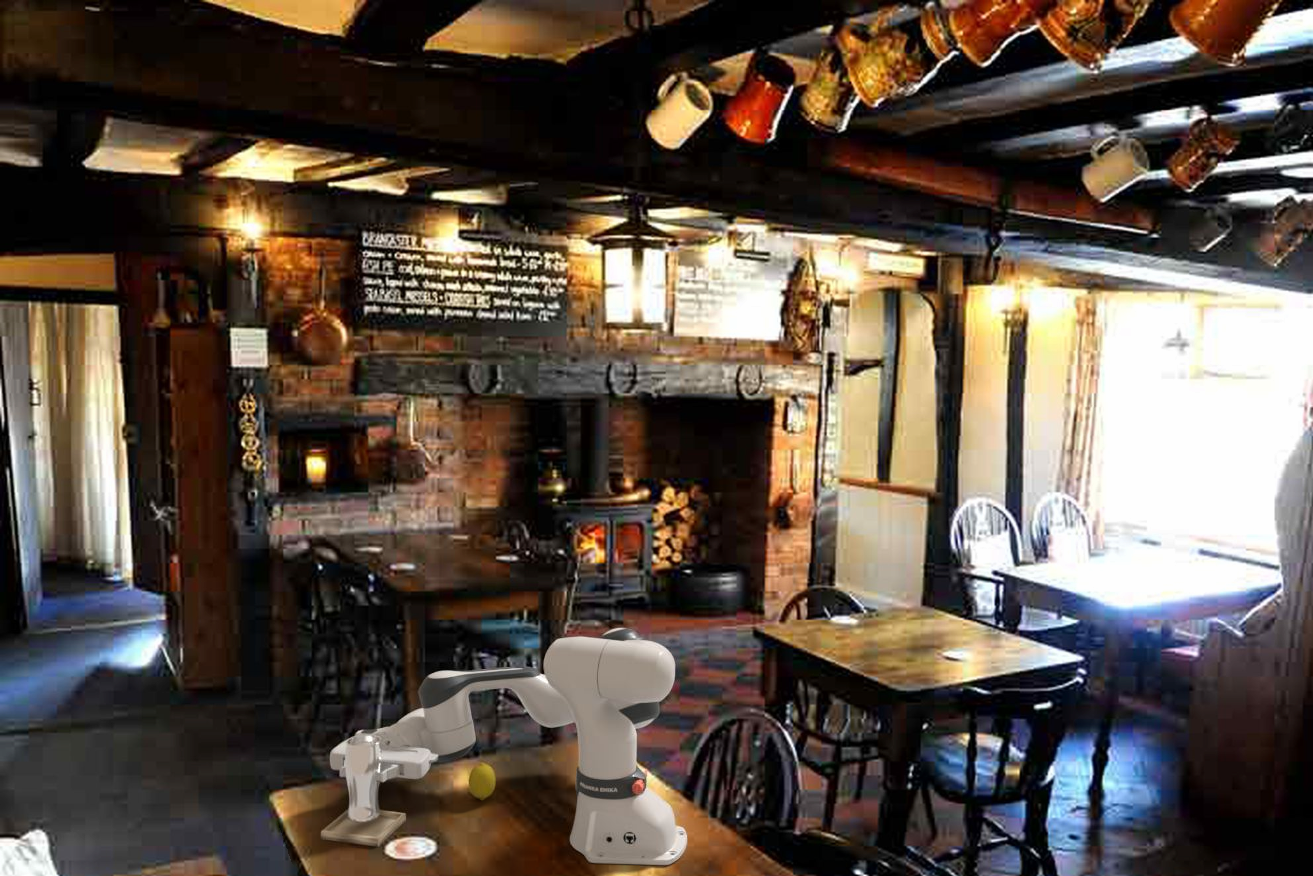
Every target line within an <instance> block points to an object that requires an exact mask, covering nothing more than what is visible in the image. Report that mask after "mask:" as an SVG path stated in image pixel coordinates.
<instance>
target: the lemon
mask: <svg viewBox="0 0 1313 876" xmlns="http://www.w3.org/2000/svg"><path fill="white" fill-rule="evenodd" d="M468 776H469V777H468V788H469V792H470V793H471V795H472V796H473V797H475V798H477V799H479V800H481V801H484V800H485V799H486V798H488V797H490V796H491V795H492V794H493V792H494V791H495V788H496V784H497V783H496V780H497V779H496V774H495V771H494V769H493V767H492V766H490V765H489V764H488V763H485V762H480V763H479V764H477V765H475V766H474V767H473V768H472V769H471V771H470V774H469V775H468Z"/></svg>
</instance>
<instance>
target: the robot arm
mask: <svg viewBox="0 0 1313 876" xmlns="http://www.w3.org/2000/svg"><path fill="white" fill-rule="evenodd" d="M543 671H544V673H543V674H542V673H541V672H540V671H539V670H538V669H537V668H535V667H531V666H508V667H507V666H505V667H495V668H494V667H493V668H492V667H491V668H484V669H482V668H481V669H471V670H470V669H469V670H439V671H435V672H433V673H431V674H428V675H426V677H425V678H424V680H423V682H422V683H421V684H420V686H419V689H418V690H417V693H418V697H419V702H420V704H421V708H418V709H415V710H412V711H411V712H410V713H407V714H406V715H404V716H403V717H402V718H401V719H399V720H398V721H397V722H396V723H394V724H391V725H390V726H385V727H382V728H381V727H380V728H373V729H372V728H371V729H361V730H357V732H355V734H354V736H357V735H365V734H370V735H377V736H379V737H380V738H381V746H382V770H381V771H380V772H378V773H377V775H376V777H377V778H376V781H378V782H380V783H384V782H386V781H387V780H391V779H395V778H400V779H401V778H402V779H411V780H418V779H422V778H423V777H424V776H425V775H426V774H427V773H428V771H429V770H430V768H431V766H432V765H431V764H433V763H442V764H443V763H450V762H454V761H457V760H459V759H460V758H463V757H464V756H466V755H467V753H469V752H470V751H471V749H472V748H473V747H474V746H475V744H476V742H477V739H476V731H475V725H474V719H473V718H472V717H473V716H472V711H471V704H470V701H469V700H470V699H469V695H470V693H471V692H473V691H484V690H495V689H510V690H511V691H513V692H514V694H516V696H517V697H518V699H519V700H520V702H521V704H522V706H523V707H524V708H525V710H526V711H527V714H529V716H530V717H531V718H532V719H533V720H534V721H535V722H536V723H538V724H539V725H541V726H543V727H546V728H557V727H558V728H559V727H563V726H567V725H569V724H572V723H573V724H574V723H575V726H576V731H577V743H578V746H577V747H578V766H577V767H576V775H575V791H576V795H575V796H576V797H577V800H576V801H577V802H576V810H575V816H574V821H573V826H572V829H571V832H570V835H569V843H570V845H571V846H572V847H573V849H575V850H576V851H578V852H579V853H581V854H582V855H584V857H585V858H586V860H587V861H588V862H589V863H593V864H613V865H614V864H617V865H647V866H648V865H650V866H651V865H652V866H669V865H671V864H673V863H675V862H676V861H678V860H679V859H680V858H681V857H682V855H683V854H684V853H685V851H686V849H687V846H688V834H687V832H686V830H685V828H684V827H682V826H679V825H676V819H675V814H674V810H673V808H672V807H671V805H670V803H668V802H667V801H665V800H664V798H662V797H660V796H659V795H658V794H657V793H655V792H654V791H652V789H650V788H649V787H648V786H647V783H648V781H647V777H648V769H647V768H645V770H644V771H642V770H641V769H640V768H639V766H638V765H637V754H638V753H637V752H638V751H637V749H638V748H637V746H638V745H637V742H638V741H637V738H638V735H637V729H642V728H644V727H646V726H648V725H649V724H651V723H653V721H654V720H655V719H657V718H658V716H659V715H660V711H661V710H660V702H661V701H662V700H664V699H665V698H666V697H667V696H668V695H669V694H670V692H671V690H672V689H673V685H674V683H675V677H676V662H675V658H674V656H673V655H672V653H671V652H670V651H669V649H668V648H666V647H665V646H663V645H662V644H661V643H658V642H655V641H652V640H645V637H643V636H642V637H641V636H640V635H639V634H638V632H637V631H635V630H633V629H632V628H630V627H617V628H616V627H615V628H613V629H610V630H608V631H606V632H605V633H603V634H602V635H601V636H599V637H598V638H597V637H589V636H582V635H580V636H572V637H571V636H570V637H569V636H568V637H562V638H557V639H556V640H555V641H553V642H552V643H551V645H550V646H549V647H548V649H547V651H546V652H545V656H544V659H543ZM348 739H349V738H346V739H345V740H344V741H342V742H340V743H339V744H337V746H335V747H334V748H333V749H331V751H330V755H329V764H330V768H331V769H332V770H334V771H339V777H340V778H346V772H345V752H346V741H347V740H348Z"/></svg>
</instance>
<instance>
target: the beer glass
mask: <svg viewBox="0 0 1313 876" xmlns="http://www.w3.org/2000/svg"><path fill="white" fill-rule="evenodd" d="M347 739H348V740H347ZM347 739H346V740H347V741H346V752H345V772H346V783H347V789H348V796H349V797H348V798H349V804H348V809H347V810H348V814H347V817H348V819H349V820H350V821H353V822H367V821H371V820H374V819H376V818H377V817H378V816H379V815H380V810H381V809H380V805H379V799H378V798H379V786H380V783H381V782H378V781H376V778H377V777H376V775H377V773H378V772H380V771H381V770H382V746H381V738H380V737H379V736H377V735H370V734H365V735H357V736H355V735H354V736H351V737H350V738H347Z"/></svg>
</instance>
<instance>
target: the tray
mask: <svg viewBox="0 0 1313 876" xmlns="http://www.w3.org/2000/svg"><path fill="white" fill-rule="evenodd" d="M379 810H380V815H379V816H378V817H377V818H376V819H374V820H371V821H367V822H353V821H350V820H349V819H348V817H347V814H348V809H346V810H345V811H343V813H342V814H340V815H339V816H338V817H336V818H335V819H334V820H333V821H332V822H331V823H329V824H328V825H326V826H325V827H324V828H323V829H322V830H321V831H320V839H321V840H325V841H326V840H327V841H333V842H341V843H348V844H354V845H355V844H357V845H363V846H370V847H377V848H378V847H379V846H380V845H381V844H382V843H384V841H386V840H387V839H388V838H389V837H390V836H391V835H392V834H393V833H395V831H396V830H397V829H399V828H400V826H402V825H403V824H404V823H405V822H406V820H407V816H406V815H407V813H405V812H397V811H389V810H383V809H379Z"/></svg>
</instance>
